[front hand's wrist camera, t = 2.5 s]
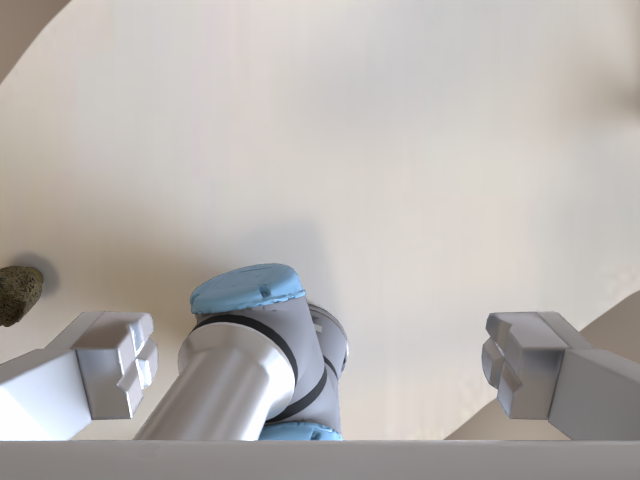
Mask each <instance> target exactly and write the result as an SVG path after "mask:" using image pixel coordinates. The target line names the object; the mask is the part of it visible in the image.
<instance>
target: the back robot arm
mask: <svg viewBox="0 0 640 480" xmlns="http://www.w3.org/2000/svg"><path fill="white" fill-rule="evenodd" d="M305 294H306V293H305V290H304V289H303V288H302V285H301V282H300V280H299V277H298V274H297V273H296V271H295V270H294V269H293V268H291V267H289V266H287V265H282V264H275V263H272V264H260V265H253V266H248V267H244V268H240V269H237V270H233V271H230V272H227V273H224V274H222V275H219V276H217V277H214V278H212V279H210V280H208V281H207V282H205V283H203V284H202V285H200V286H199V287H197V288H196V289H195V290H194V291H193V293H192V295H191V297H190V303H191V307H192V308H191V312H192V313H193V314H195V316H196V319H197V325H196V326H195V328H194V329H193V330H192V331H191V333H190V334H189V335H188V336H187V338H186V339H185V341H184V342H183V344H182V346H181V348H180V351H179V355H178V369H179V374H180V375H179V376H178V378H177V379H176V380H175V382H174V383H173V384H172V386H171V387H170V389H169V390H168V391H167V393H166V394H165V395H164V397H163V398H162V400H161V401H160V402H159V404H158V405H157V407H156V408H155V409H154V411H153V412H152V413H151V415H150V416H149V418H148V419H147V420H146V422H145V423H144V424H143V426H142V427H141V429H140V430H139V431H138V433H137V434H136V435H135V437H134V438H133V440H343V438H342V436H341V422H340V406H339V391H338V381H339V379H340V376H341V373H342V372H343V370H344V367H345V365H346V361H347V356H348V345H347V338H346V334H345V332H344V329H343V327H342V326H341V324H340V323H339V322H338V320H337V319H336V318H335V317H333V316H332V315H331V314H330V313H328V312H327V311H325V310H323V309H321V308H319V307H316V306H312V305H308V304H307V301H306V297H305Z"/></svg>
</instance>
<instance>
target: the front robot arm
mask: <svg viewBox="0 0 640 480" xmlns="http://www.w3.org/2000/svg"><path fill="white" fill-rule="evenodd" d="M153 330H154V324H153V319H152V316H151V315H150V314H149V313H148V312H106V311H96V312H82V313H81V314H80V315H79V316H78V317H77V318H76V319H75V320H74V321H73V322H72V323H71V324H70V325H68V326H67V327H66V328H65V329H64V330H63V331H62V332H61V333H60V334H59V335H58V336H57V337H56V338H55V339H54V340H53V341H52V342H51V343H50V344H48V345H47V346H46V347H45V348H44V349H36V350H33V351H31V352H29V353H26V354H24V355H22V356H19V357H17V358H14V359H12V360H10V361H7V362H5V363H3V364H0V480H640V364H637V363H635V362H633V361H630V360H628V359H625V358H623V357H621V356H618V355H616V354H614V353H611V352H609V351H607V350H604V349H596V348H595V347H594V346H593V345H592V344H590V343H589V342H588V341H587V340H586V339H585V338H584V337H583V336H582V335H581V334H580V333H579V332H578V331H577V330H576V329H575V328H574V327H573V326H572V325H571V324H570V323H569V322H567V321H566V320H565V319H564V318H563V317H562V316H561V315H560V314H559V313H557V312H554V311H545V312H504V313H490V314H489V317H488V319H487V323H486V330H487V332H488V333H489V335H490V336H491V337H490V338H489V339H488V340H487V341H486V342H485V343H484V344H483V349H482V367H483V371H484V374H485V377H486V379H487V381H488V383H489V384H490V385H492V386H493V387H495V388H496V389H498V393H497V399H498V400H499V402H500V404H501V406H502V407H503V409H504V411H505V413H506V414H507V416H508V418H509V419H532V420H548V422H549V423H550V424H552V425H553V426H554V427H556V428H557V429H558V430H560V431H561V432H562V433H563V434H565V435H566V436H568V437H569V438H570V439H571V440H69V439H70V438H71V437H73V436H74V435H75V434H77V433H78V432H79V431H81V430H82V429H83V428H85V427H86V426H87V425H88V424H90V423H91V422H92V420H108V419H131V418H132V416H133V414H134V413H135V411H136V409H137V407H138V406H139V404H140V402H141V400H142V399H143V393H142V389H144V388H145V387H147V386H148V385H150V384H151V383H152V381H153V379H154V377H155V375H156V370H157V366H158V348H157V344H156V343H155V342H154V341H153V340H152V339H151V338H150V337H149V336H150V335H151V333H152V332H153Z"/></svg>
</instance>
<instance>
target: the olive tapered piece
mask: <svg viewBox="0 0 640 480" xmlns="http://www.w3.org/2000/svg"><path fill="white" fill-rule="evenodd" d="M42 284H43V276H42V274H41V272H40V271H38V270H37V269H35V268H32V267H25V268H24V267H20V266H10V267H5V268H2V269H0V326H2V325H4V326H5V327H9V326H11V325H13V324H15V323H16V322H19V321H20V320H21V319H22V317H23V316H24V315H25V314H26V313H27V312H28V311H29V310H30V309H31V308H32V307H33V306H34V305H35V303H36V302H37V301H38V299H39V298H40V296H41V292H42Z"/></svg>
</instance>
